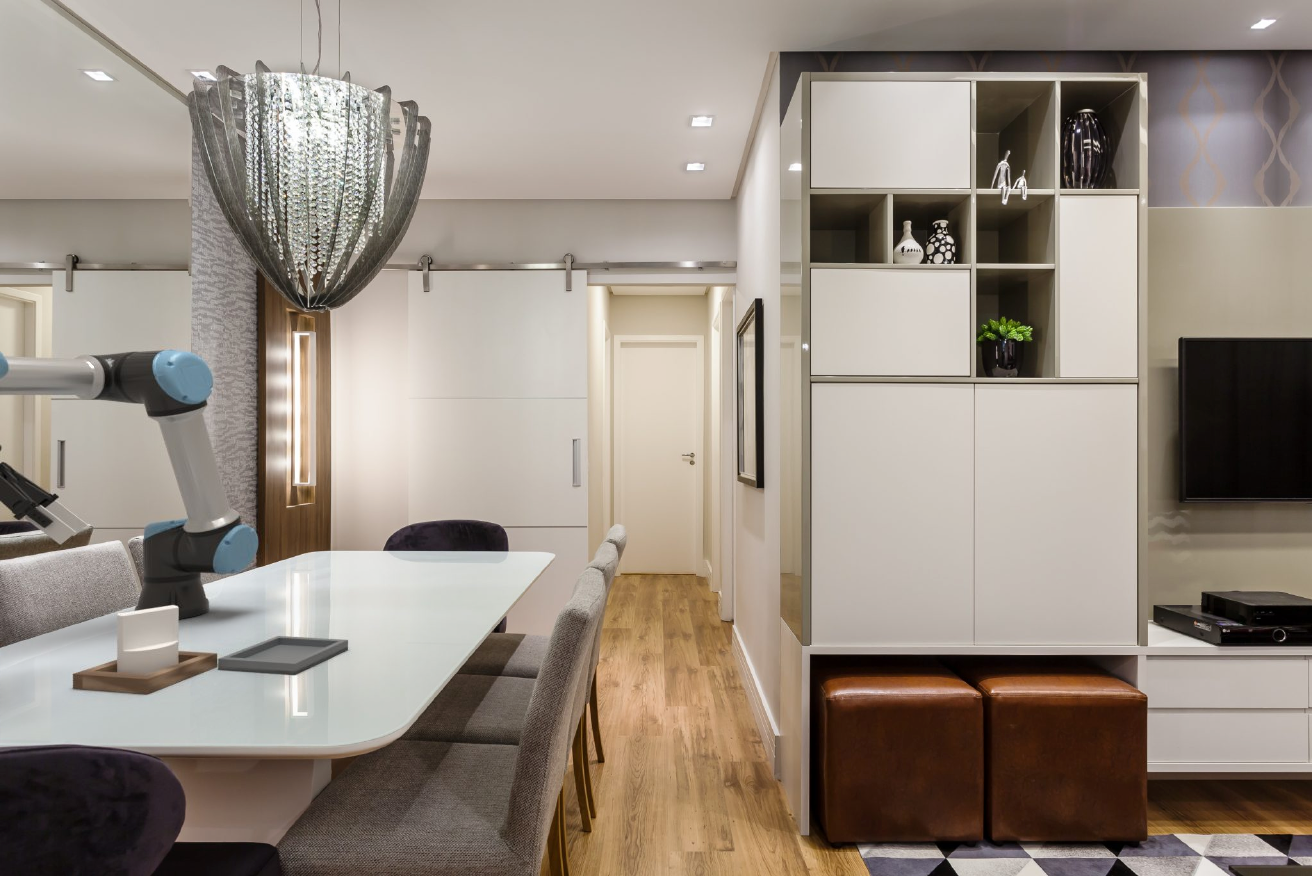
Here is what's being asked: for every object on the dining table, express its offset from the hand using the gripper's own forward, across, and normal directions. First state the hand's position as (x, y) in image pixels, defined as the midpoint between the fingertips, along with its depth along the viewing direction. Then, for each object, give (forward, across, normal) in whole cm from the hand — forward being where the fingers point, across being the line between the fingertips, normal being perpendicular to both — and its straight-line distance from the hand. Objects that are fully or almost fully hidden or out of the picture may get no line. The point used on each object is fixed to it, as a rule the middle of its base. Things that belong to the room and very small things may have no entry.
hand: (75, 534), depth 125 cm
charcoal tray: (+42, +1, +5) cm, 42 cm away
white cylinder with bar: (+26, 0, -11) cm, 29 cm away
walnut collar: (+26, 0, -11) cm, 28 cm away
